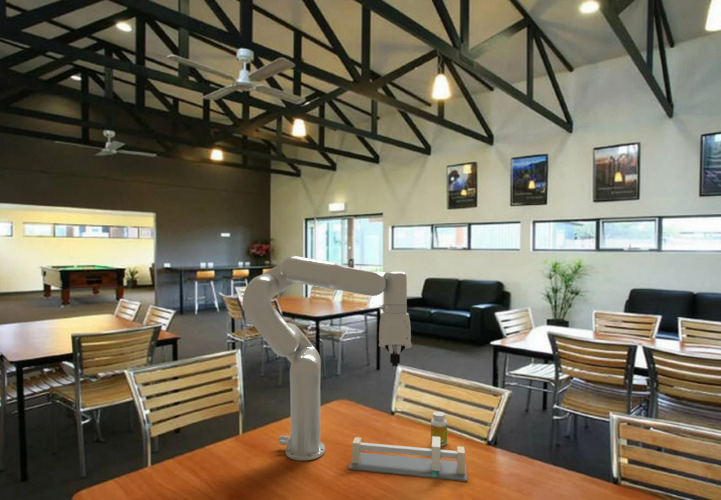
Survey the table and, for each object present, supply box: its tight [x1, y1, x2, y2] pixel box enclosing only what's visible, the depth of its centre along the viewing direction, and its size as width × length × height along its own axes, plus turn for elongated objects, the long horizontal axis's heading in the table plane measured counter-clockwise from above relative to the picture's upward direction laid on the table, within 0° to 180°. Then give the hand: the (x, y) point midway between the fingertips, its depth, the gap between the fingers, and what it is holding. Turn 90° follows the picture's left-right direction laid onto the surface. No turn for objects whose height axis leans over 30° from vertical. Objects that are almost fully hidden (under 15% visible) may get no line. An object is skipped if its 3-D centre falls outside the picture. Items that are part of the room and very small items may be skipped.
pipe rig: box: [348, 436, 468, 482], centre depth 125 cm, size 34×10×6 cm, turn 79°
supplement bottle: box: [430, 411, 448, 447], centre depth 141 cm, size 5×5×10 cm
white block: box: [431, 436, 441, 471], centre depth 124 cm, size 2×7×7 cm, turn 169°
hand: (395, 365), depth 137 cm, fingers closed
